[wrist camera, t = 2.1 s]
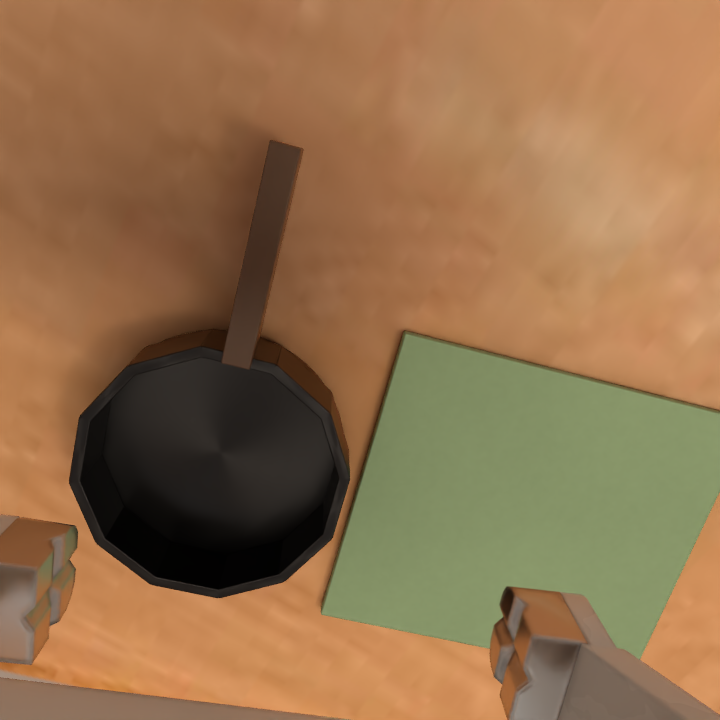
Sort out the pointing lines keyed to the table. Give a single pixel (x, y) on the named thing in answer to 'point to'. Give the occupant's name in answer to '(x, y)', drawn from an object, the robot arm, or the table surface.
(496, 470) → the trivet
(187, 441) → the pan
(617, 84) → the table surface
